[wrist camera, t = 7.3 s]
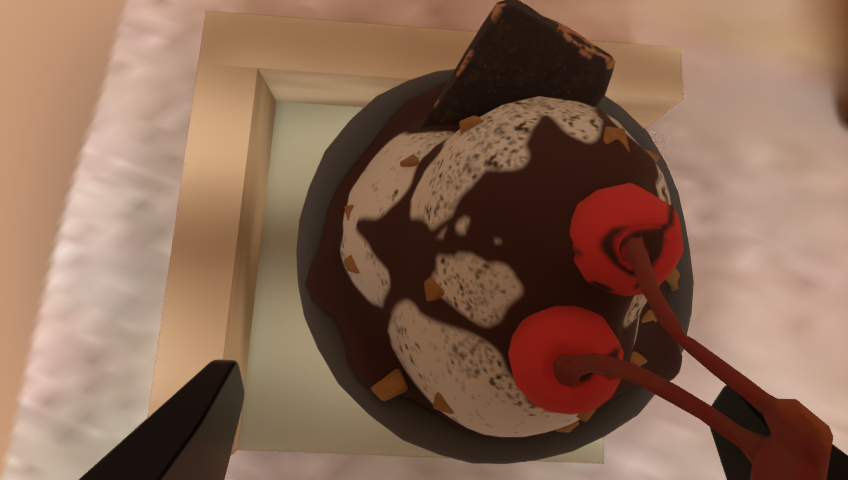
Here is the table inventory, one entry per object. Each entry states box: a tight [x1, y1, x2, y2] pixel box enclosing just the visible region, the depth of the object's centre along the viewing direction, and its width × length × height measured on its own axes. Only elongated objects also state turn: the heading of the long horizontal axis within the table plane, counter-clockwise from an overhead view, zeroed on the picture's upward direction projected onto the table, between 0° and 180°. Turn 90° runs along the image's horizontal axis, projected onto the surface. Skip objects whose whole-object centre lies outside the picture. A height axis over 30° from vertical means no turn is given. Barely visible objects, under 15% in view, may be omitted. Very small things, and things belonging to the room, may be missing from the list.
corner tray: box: [147, 11, 683, 464], centre depth 17 cm, size 15×17×3 cm
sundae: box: [296, 0, 833, 480], centre depth 10 cm, size 7×7×15 cm
